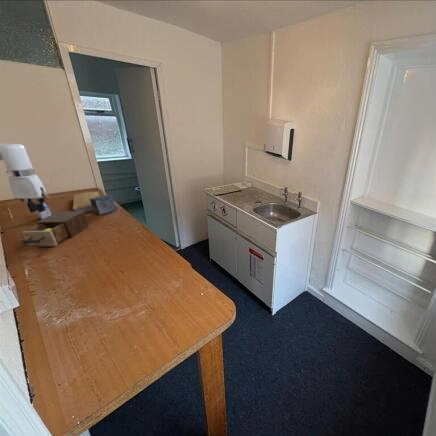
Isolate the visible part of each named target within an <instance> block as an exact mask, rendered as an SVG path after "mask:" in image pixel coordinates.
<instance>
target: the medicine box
mask: <svg viewBox="0 0 436 436" xmlns="http://www.w3.org/2000/svg"><path fill="white" fill-rule="evenodd" d="M43 204H44V206H45V209H46V210H45V211H43V212H38V210H37V211H36V212H37V215H38V216H39V219H40V220H42V219H44V218H46V217H48V216H50V215H52V213H51V210H50V208H49V206H48V205H47V204H46V203H45V202H43Z"/></svg>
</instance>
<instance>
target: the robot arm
mask: <svg viewBox="0 0 436 436" xmlns="http://www.w3.org/2000/svg"><path fill="white" fill-rule="evenodd" d="M1 161H3V163H4V165H5V167H6V170H5V171H6V174H9V176H8V183H9V187H10V190H11V192H12V195H13V197H14V199H15V200H18V201H21V202H23V203H24V204H25V205H27V208H28V210H29V212H30V213H34V212H37V210H38V212H43V211H45V210H46V209H45V206H44V204H43V203H45V201H46V200H47V199H50V195H48V193H47V190H46V188H45V186H44V184H43V182H42V181H41V179H40V178H39V176H38V175H37V174H36V173H35V170H34V167H33V165H32V163H31V160H30V157H29V155H28V152H27V150H26V147H25V146H24V145H23V144H21V143H1V142H0V162H1ZM33 199H34V201H33ZM38 212H37V213H38Z"/></svg>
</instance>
